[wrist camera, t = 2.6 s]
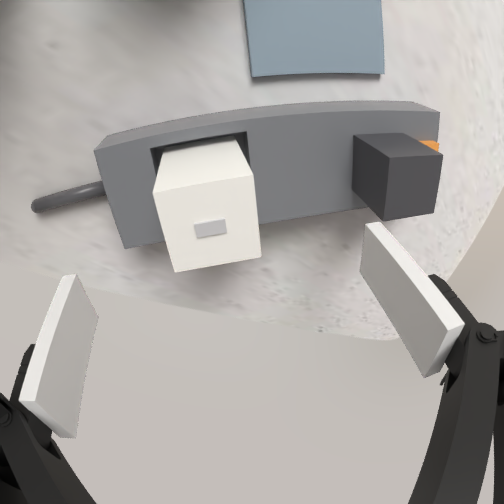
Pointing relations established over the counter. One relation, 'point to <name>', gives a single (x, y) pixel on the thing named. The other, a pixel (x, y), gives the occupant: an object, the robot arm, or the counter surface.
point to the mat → (314, 36)
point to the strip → (282, 162)
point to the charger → (207, 204)
